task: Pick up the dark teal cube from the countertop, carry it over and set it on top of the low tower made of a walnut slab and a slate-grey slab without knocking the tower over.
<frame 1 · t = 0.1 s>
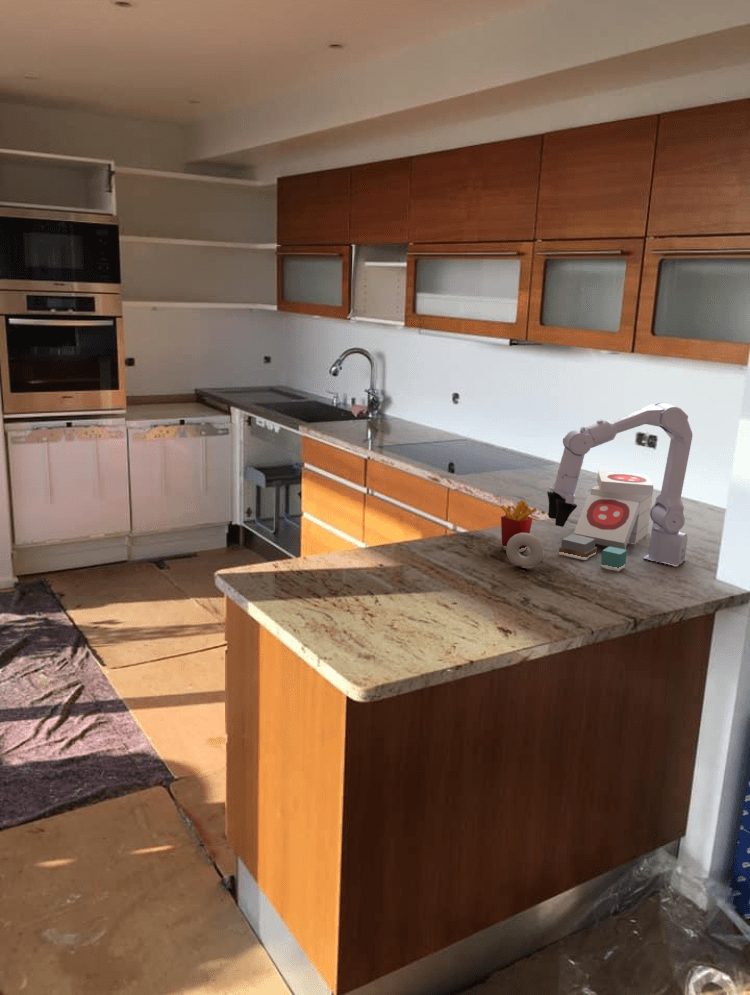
hand: (555, 522, 231), 11 cm above the countertop, tool pointing down, fingers open, 7 cm apart
tower top: (577, 547, 237), point 2 cm above the countertop, touching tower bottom
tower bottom: (577, 555, 238), on the countertop, touching tower top
teal cube: (612, 567, 228), on the countertop
stacked pizza boxes: (612, 539, 254), on the countertop
donut: (522, 569, 224), on the countertop
french fries: (518, 551, 239), on the countertop
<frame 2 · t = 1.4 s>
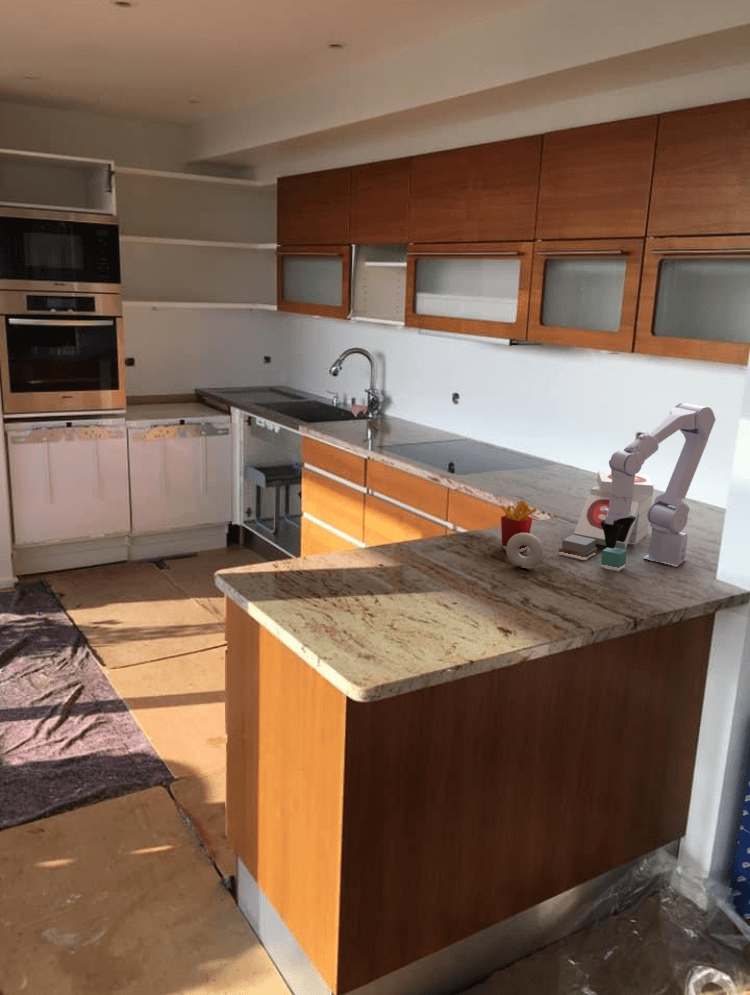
hand: (615, 544, 226), 7 cm above the countertop, tool pointing down, fingers open, 7 cm apart
tower top: (578, 548, 237), point 2 cm above the countertop
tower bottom: (577, 556, 238), on the countertop
everything else where it was.
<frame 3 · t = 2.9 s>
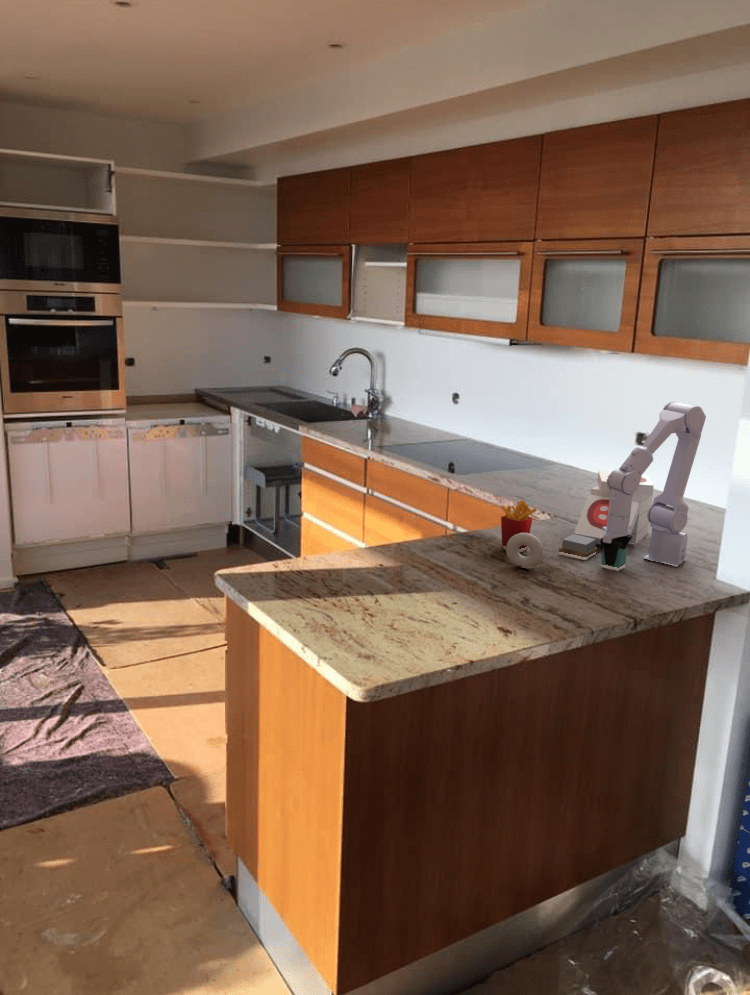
hand: (613, 562, 228), 1 cm above the countertop, tool pointing down, fingers closed on teal cube, 5 cm apart
tower top: (578, 547, 237), point 2 cm above the countertop, touching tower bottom
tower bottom: (577, 556, 238), on the countertop, touching tower top
teal cube: (612, 567, 228), on the countertop, touching gripper
everything else where it was.
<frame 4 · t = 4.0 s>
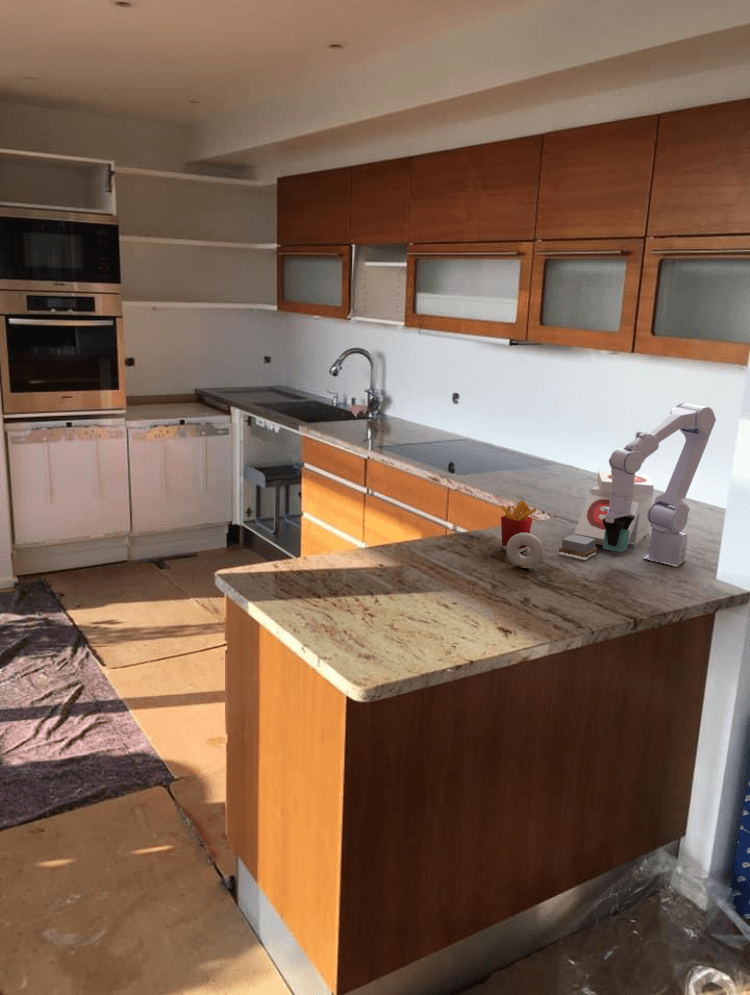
hand: (616, 542, 226), 7 cm above the countertop, tool pointing down, fingers closed on teal cube, 5 cm apart
teal cube: (615, 548, 227), point 5 cm above the countertop, touching gripper
everything else where it was.
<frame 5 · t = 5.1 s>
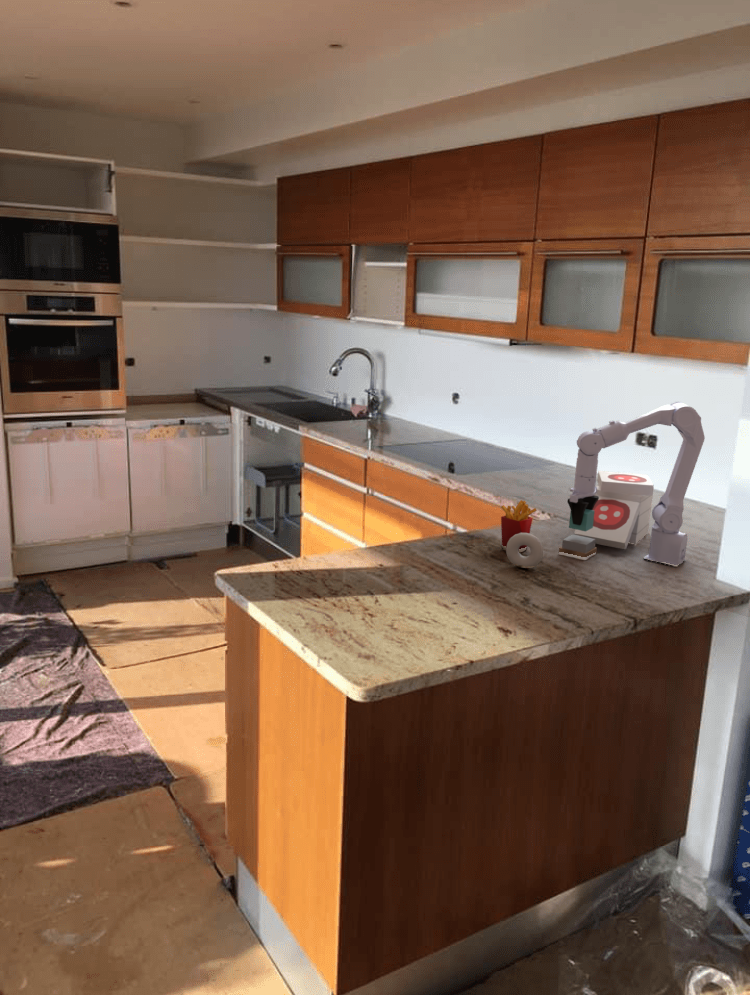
hand: (580, 522, 235), 9 cm above the countertop, tool pointing down, fingers closed on teal cube, 5 cm apart
teal cube: (580, 527, 236), point 8 cm above the countertop, touching gripper
everything else where it was.
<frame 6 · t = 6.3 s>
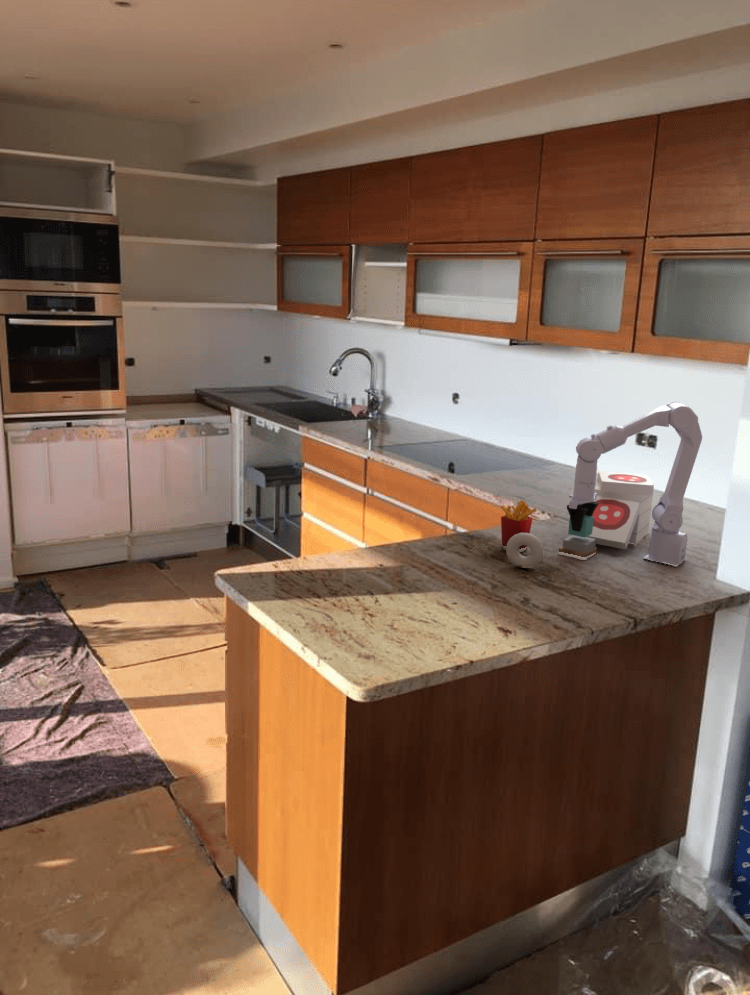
hand: (580, 528, 236), 8 cm above the countertop, tool pointing down, fingers closed on teal cube, 5 cm apart
teal cube: (580, 533, 236), point 6 cm above the countertop, touching gripper
everything else where it was.
when the fingers open (8 cm above the countertop, at t = 6.4 s): teal cube drops 2 cm, resting on tower top.
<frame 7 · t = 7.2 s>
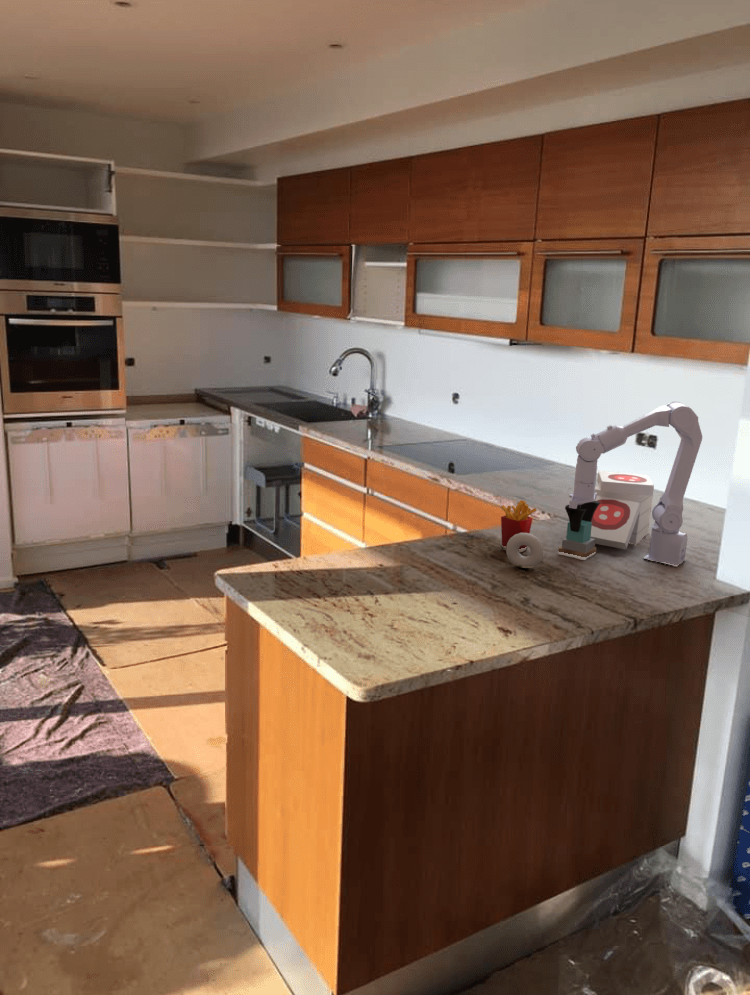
hand: (580, 528, 236), 8 cm above the countertop, tool pointing down, fingers open, 7 cm apart
tower top: (578, 547, 237), point 2 cm above the countertop, touching teal cube
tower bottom: (576, 556, 238), on the countertop
teal cube: (578, 539, 237), point 4 cm above the countertop, touching tower top
everything else where it was.
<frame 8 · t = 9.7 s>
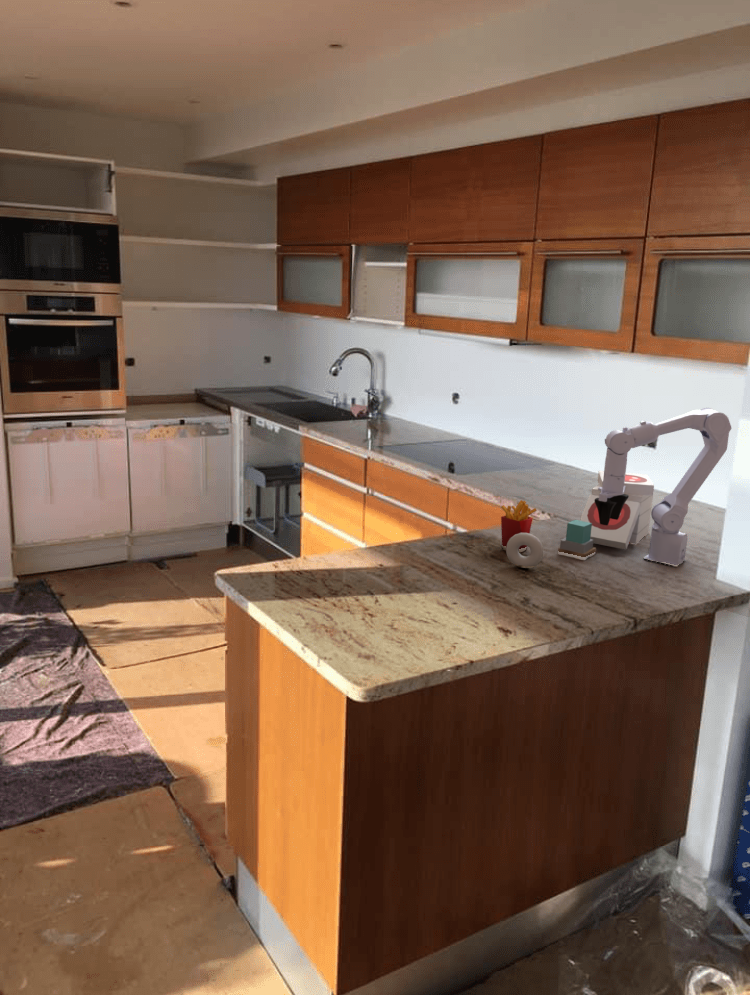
hand: (609, 521, 234), 10 cm above the countertop, tool pointing down, fingers open, 7 cm apart
tower top: (576, 548, 237), point 2 cm above the countertop, touching teal cube, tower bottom
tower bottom: (576, 556, 238), on the countertop, touching tower top
everything else where it was.
at the end: teal cube 0.3 cm off-centre on the tower top, point 2.5 cm above the tower top's base; tower top 0.4 cm off-centre on the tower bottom, point 2.5 cm above the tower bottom's base; the gripper is holding nothing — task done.
